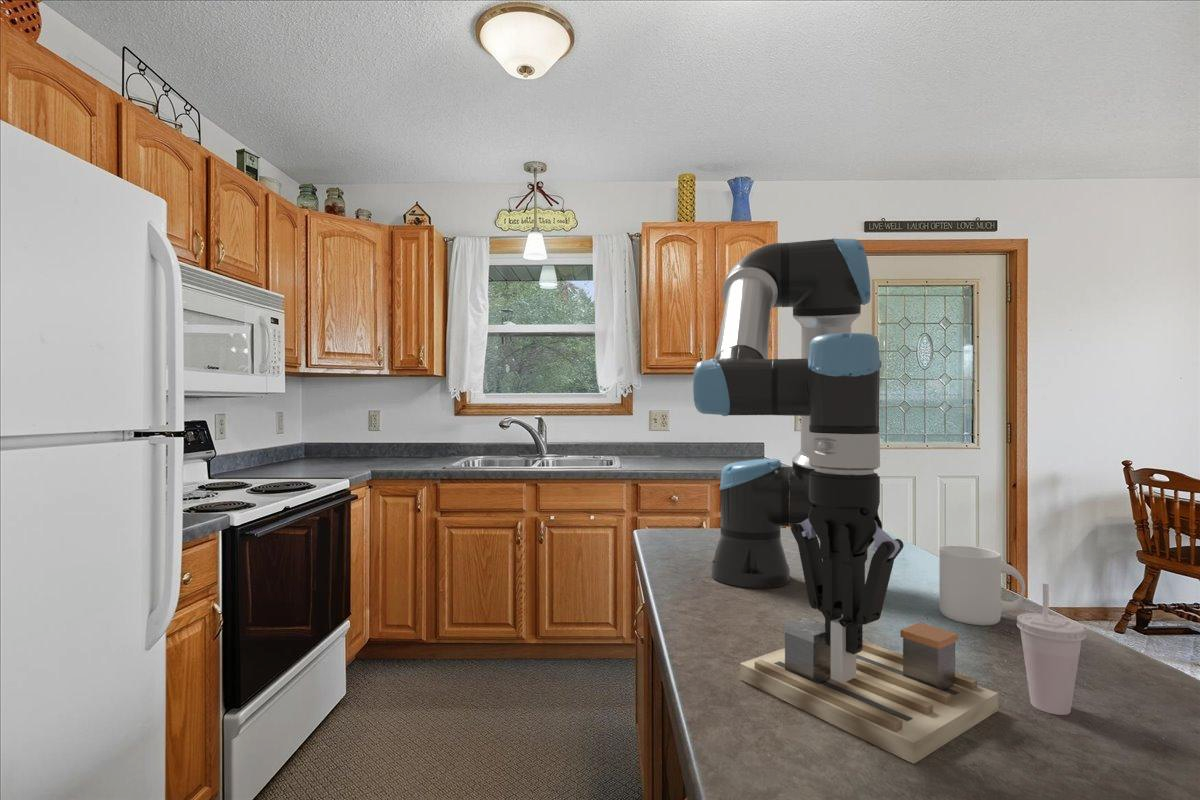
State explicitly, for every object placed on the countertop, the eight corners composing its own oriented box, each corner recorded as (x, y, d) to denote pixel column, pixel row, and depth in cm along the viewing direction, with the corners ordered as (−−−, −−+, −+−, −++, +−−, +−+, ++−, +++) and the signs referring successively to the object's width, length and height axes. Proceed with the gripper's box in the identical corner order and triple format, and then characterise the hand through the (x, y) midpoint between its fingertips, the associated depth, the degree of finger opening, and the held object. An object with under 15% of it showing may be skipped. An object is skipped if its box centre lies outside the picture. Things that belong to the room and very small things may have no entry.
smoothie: (1003, 694, 73) (1003, 576, 73) (1053, 692, 74) (1053, 575, 74) (1046, 722, 67) (1046, 593, 67) (1101, 720, 68) (1101, 592, 68)
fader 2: (900, 679, 72) (900, 630, 72) (919, 670, 75) (919, 622, 75) (938, 694, 69) (938, 641, 69) (957, 683, 71) (958, 633, 71)
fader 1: (782, 672, 74) (782, 624, 74) (805, 664, 77) (805, 617, 77) (813, 686, 70) (813, 635, 70) (836, 677, 73) (836, 627, 73)
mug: (1033, 632, 93) (1033, 561, 93) (944, 622, 98) (944, 554, 98) (1017, 614, 102) (1017, 549, 102) (935, 605, 106) (935, 543, 106)
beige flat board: (739, 679, 77) (739, 656, 77) (827, 647, 88) (827, 627, 88) (913, 763, 59) (913, 734, 59) (997, 710, 69) (997, 685, 69)
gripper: (775, 467, 73) (775, 665, 73) (879, 478, 63) (879, 710, 62) (814, 463, 78) (814, 651, 77) (917, 473, 67) (917, 690, 67)
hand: (843, 677), depth 70 cm, fingers closed
